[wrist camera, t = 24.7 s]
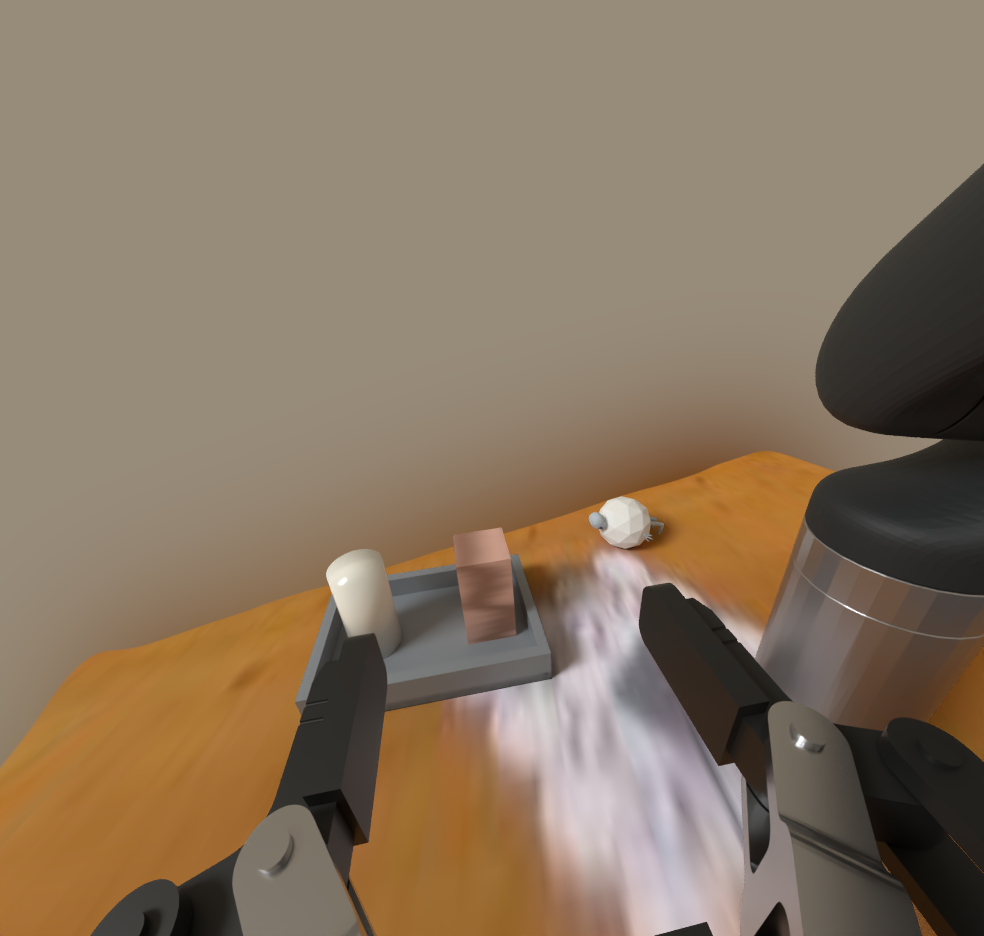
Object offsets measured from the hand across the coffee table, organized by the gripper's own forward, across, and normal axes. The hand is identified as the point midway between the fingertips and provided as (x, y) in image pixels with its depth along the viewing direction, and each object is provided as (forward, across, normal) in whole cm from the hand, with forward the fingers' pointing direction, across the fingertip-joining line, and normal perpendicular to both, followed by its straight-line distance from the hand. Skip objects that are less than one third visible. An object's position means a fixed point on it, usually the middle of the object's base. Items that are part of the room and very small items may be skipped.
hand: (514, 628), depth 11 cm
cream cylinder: (+20, +12, +23) cm, 33 cm away
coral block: (+21, 0, +23) cm, 31 cm away
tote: (+21, +6, +24) cm, 32 cm away
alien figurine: (+31, -21, +24) cm, 45 cm away
